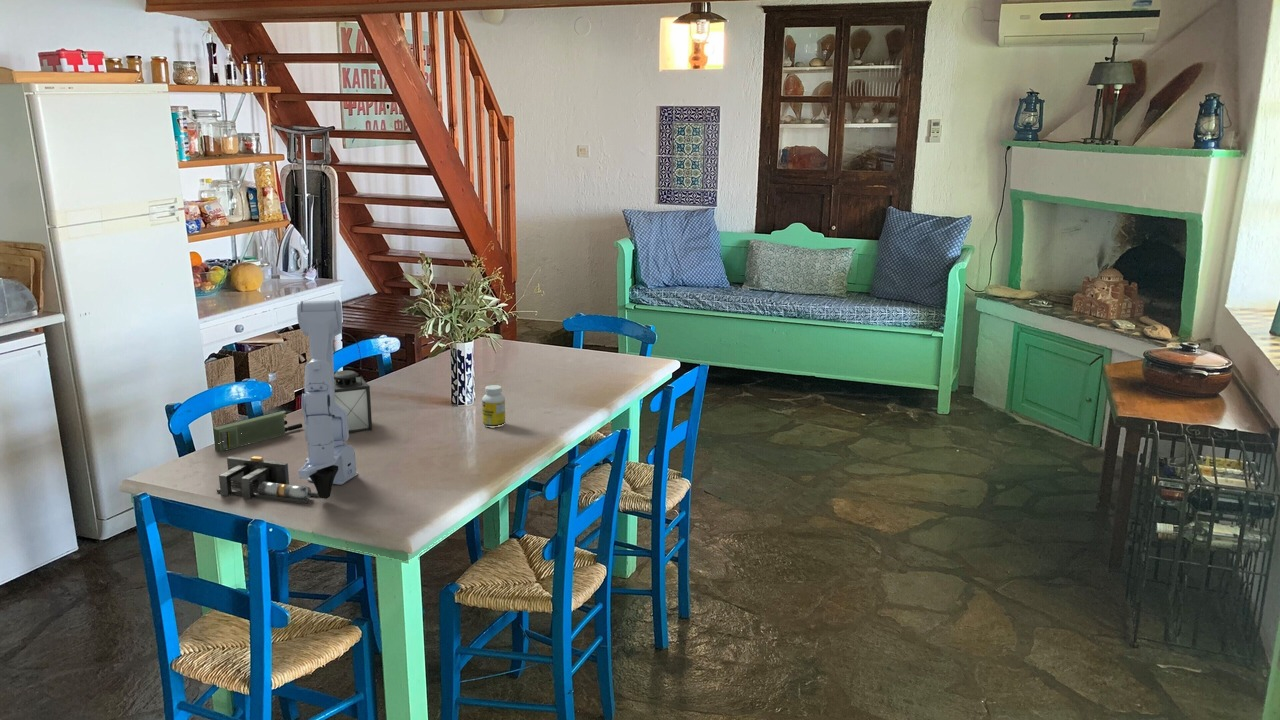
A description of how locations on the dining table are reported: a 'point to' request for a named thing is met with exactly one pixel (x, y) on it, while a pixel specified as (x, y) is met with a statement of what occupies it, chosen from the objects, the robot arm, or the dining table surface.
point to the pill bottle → (493, 406)
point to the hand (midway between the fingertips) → (324, 497)
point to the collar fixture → (255, 478)
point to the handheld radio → (251, 430)
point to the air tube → (284, 490)
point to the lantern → (353, 399)
